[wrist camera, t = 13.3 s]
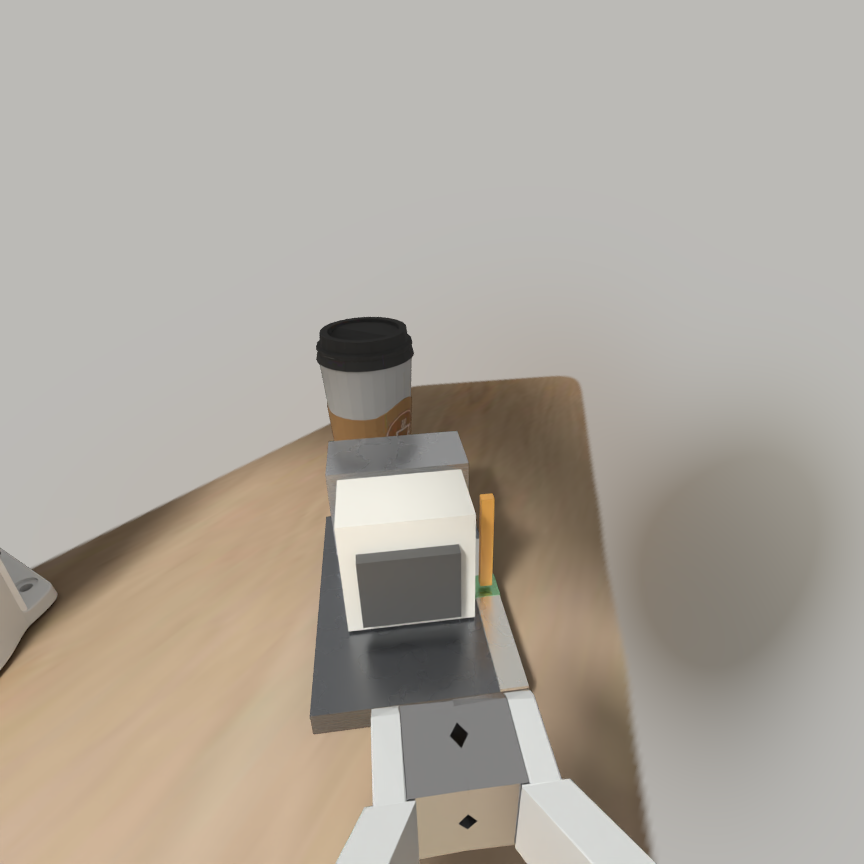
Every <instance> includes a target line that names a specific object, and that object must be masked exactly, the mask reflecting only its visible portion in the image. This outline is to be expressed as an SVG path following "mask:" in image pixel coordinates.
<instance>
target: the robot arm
mask: <svg viewBox="0 0 864 864" xmlns="http://www.w3.org/2000/svg"><path fill="white" fill-rule="evenodd" d="M56 598H57V592H56V590H55V589H54V587H53V586H52V584H51V583H50V582H49V581H47V580H46V579H45V578H43V577H42V576H40V575H39V574H37V573H36V572H34V571H33V570H31V569H30V568H29V567H27V566H26V565H24V564H23V563H21V562H20V561H18V560H17V559H16V558H14V557H13V556H11V555H10V554H8V553H7V552H5V551H4V550H2V549H1V548H0V670H1V668H2V667H3V666H4V665H5V663H6V662H7V661H8V659H9V658H10V656H11V655H12V653H13V652H14V650H15V648H16V646H17V645H18V643H19V641H20V639H21V637H22V636H23V634H24V633H25V631H26V630H27V628H28V627H29V626H30V625H31V624H32V623H33V622H34V621H35V620H36V619H37V618H38V617H40V616H41V615H42V614H43V613H44V612H45V611H46V610H47V609H48V608H49V607H50V606H51V605H52V604H53V602H54V601H55V600H56ZM400 723H401V725H400ZM371 750H372V789H373V806H369V807H364V809H363V811H362V813H361V815H360V817H359V819H358V821H357V823H356V825H355V827H354V829H353V831H352V833H351V835H350V836H349V838H348V840H347V842H346V844H345V846H344V848H343V850H342V852H341V854H340V856H339V858H338V860H337V862H336V864H419V859H424V858H430V857H435V856H441V855H446V854H452V853H457V852H462V851H468V850H477V849H485V848H493V847H501V846H510V845H515V848H516V850H517V851H518V852H519V854H520V855H521V856H522V858H523V859H524V860H525V862H526V863H527V864H656V863H655V862H654V861H653V860H652V859H651V858H650V857H649V856H648V855H647V854H646V853H645V852H644V851H643V850H642V849H641V848H640V847H639V846H638V845H637V844H636V843H635V842H634V841H633V840H632V839H631V838H630V837H629V836H628V835H627V834H626V833H625V832H624V831H623V830H622V829H621V828H620V827H619V826H618V825H617V824H616V823H615V822H614V821H613V820H612V819H611V818H610V817H609V816H608V815H607V814H606V813H605V812H604V811H603V810H602V809H601V808H600V807H599V806H597V805H596V804H595V803H594V802H593V801H592V800H591V799H590V798H589V797H588V796H587V795H586V794H585V793H584V792H583V791H582V790H581V789H580V788H579V787H578V786H577V785H576V784H575V783H574V782H573V781H572V780H571V779H570V778H568V779H562V778H561V775H560V772H559V769H558V766H557V763H556V760H555V757H554V754H553V751H552V748H551V745H550V742H549V739H548V736H547V733H546V730H545V727H544V723H543V720H542V717H541V714H540V711H539V708H538V705H537V702H536V699H535V696H534V694H533V693H532V692H531V690H529V689H528V690H521V691H514V692H507V693H503V692H500V693H493V694H486V695H479V696H472V697H465V698H458V699H452V700H449V701H440V702H431V703H422V704H413V705H404V706H400V713H399V706H392V707H384V708H376V709H372V711H371Z"/></svg>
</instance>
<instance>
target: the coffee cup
mask: <svg viewBox="0 0 864 864" xmlns="http://www.w3.org/2000/svg"><path fill="white" fill-rule="evenodd" d="M316 350H317V351H318V352H317V359H316V360H317V362H318V363H319V364H320V368H321V373H322V378H323V383H324V387H325V393H326V397H327V407H328V412H329V417H330V422H331V427H332V432H333V437H334V441H341V440H353V439H365V438H377V437H389V436H401V435H411V412H412V397H411V359H412V356H413V354H414V352H413V348H412V340H411V337H410V336H409V335H408V334H407V330H406V325H405V324H404V323H403V322H401V321H398V320H395V319H390V318H382V317H361V318H352V319H345V320H340V321H337V322H334V323H330V324H328V325H326V326H324V327H323V328H322V329H321V330H320V340H319V341H318V342H317V346H316Z"/></svg>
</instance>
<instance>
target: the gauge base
mask: <svg viewBox="0 0 864 864" xmlns="http://www.w3.org/2000/svg"><path fill="white" fill-rule="evenodd" d="M457 469H461V471H462V474H463V477H464V480H465V483H466V486H467V489H468V492H469V463H468V460H467V457H466V454H465V451H464V449H463V446H462V443H461V440H460V438H459V435H458V432H457V431H450V432H438V433H426V434H414V435H401V436H389V437H377V438H365V439H353V440H341V441H329V444H328V455H327V465H326V483H327V490H328V497H329V504H330V511H331V516H330V517H326V528H325V540H324V552H323V564H322V576H321V588H320V600H319V612H318V624H317V636H316V649H315V661H314V673H313V685H312V697H311V709H310V720H311V725H312V729H313V734H319V733H327V732H334V731H342V730H349V729H357V728H364V727H371V711H372V709H376V708H384V707H392V706H399V713H400V706H404V705H413V704H422V703H431V702H440V701H449V700H452V699H458V698H465V697H472V696H479V695H486V694H493V693H500V692H503V693H507V692H514V691H521V690H528V689H529V685H528V681H527V678H526V675H525V672H524V669H523V666H522V663H521V660H520V657H519V654H518V650H517V647H516V644H515V641H514V638H513V635H512V632H511V629H510V626H509V623H508V619H507V616H506V613H505V610H504V607H503V604H502V601H501V598H500V592H499V589H498V586H497V583H496V579H495V576H494V574H493V573H492V585H489V586H480V584H479V532H478V529H477V525H476V555H475V617H470V618H461V619H453V620H444V621H435V622H427V623H418V624H410V625H401V626H392V627H384V628H375V629H366V630H358V631H349V632H348V625H347V617H346V610H345V603H344V596H343V589H342V581H341V574H340V567H339V560H338V553H337V545H336V538H335V531H334V522H335V505H336V489H337V480H346V479H357V478H368V477H379V476H390V475H402V474H413V473H424V472H435V471H446V470H457Z"/></svg>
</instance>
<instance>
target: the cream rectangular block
mask: <svg viewBox="0 0 864 864" xmlns="http://www.w3.org/2000/svg"><path fill="white" fill-rule="evenodd" d="M494 502H495V499H494V496H493V494H492V493H491V494H481V495H480V514H479V584H480V586H489V585H492V568H493V535H494ZM334 531H335V538H336V545H337V553H338V560H339V567H340V574H341V581H342V589H343V596H344V603H345V610H346V617H347V625H348V632H349V631H358V630H366V629H375V628H384V627H392V626H401V625H410V624H418V623H427V622H435V621H444V620H453V619H461V618H470V617H475V555H476V513H475V510H474V507H473V504H472V501H471V498H470V495H469V492H468V489H467V486H466V483H465V480H464V477H463V474H462V471H461V469H457V470H446V471H435V472H424V473H413V474H402V475H390V476H379V477H368V478H357V479H346V480H337V489H336V505H335V522H334Z"/></svg>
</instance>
